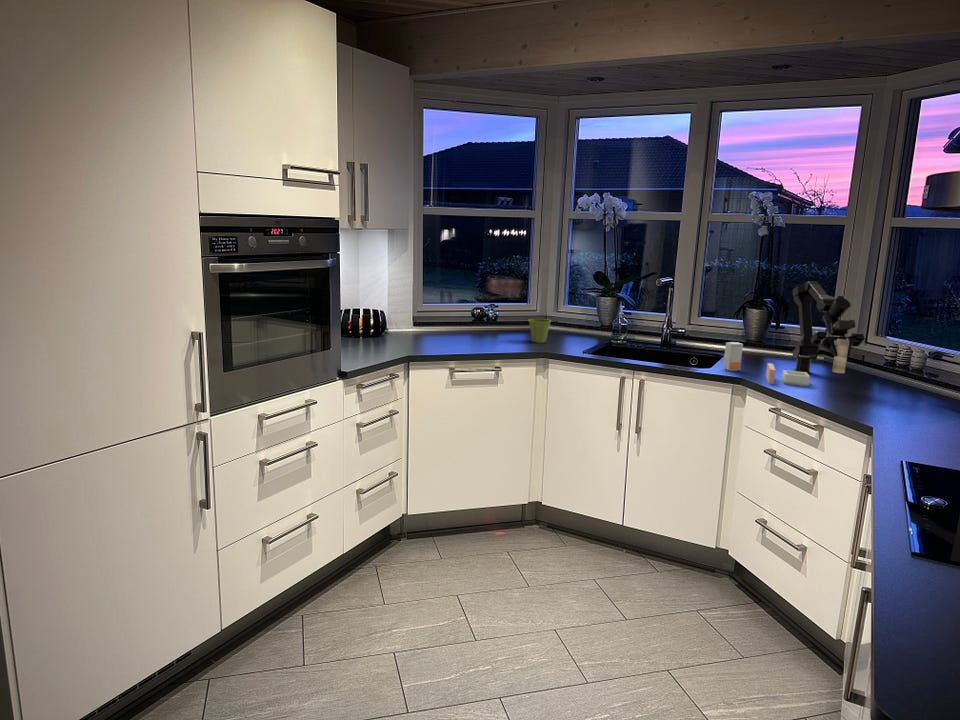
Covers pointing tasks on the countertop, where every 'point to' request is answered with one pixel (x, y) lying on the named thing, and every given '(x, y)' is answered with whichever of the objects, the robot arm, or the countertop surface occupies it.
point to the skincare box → (732, 356)
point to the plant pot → (539, 329)
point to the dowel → (841, 356)
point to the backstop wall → (770, 373)
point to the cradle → (795, 378)
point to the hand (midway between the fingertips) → (842, 356)
